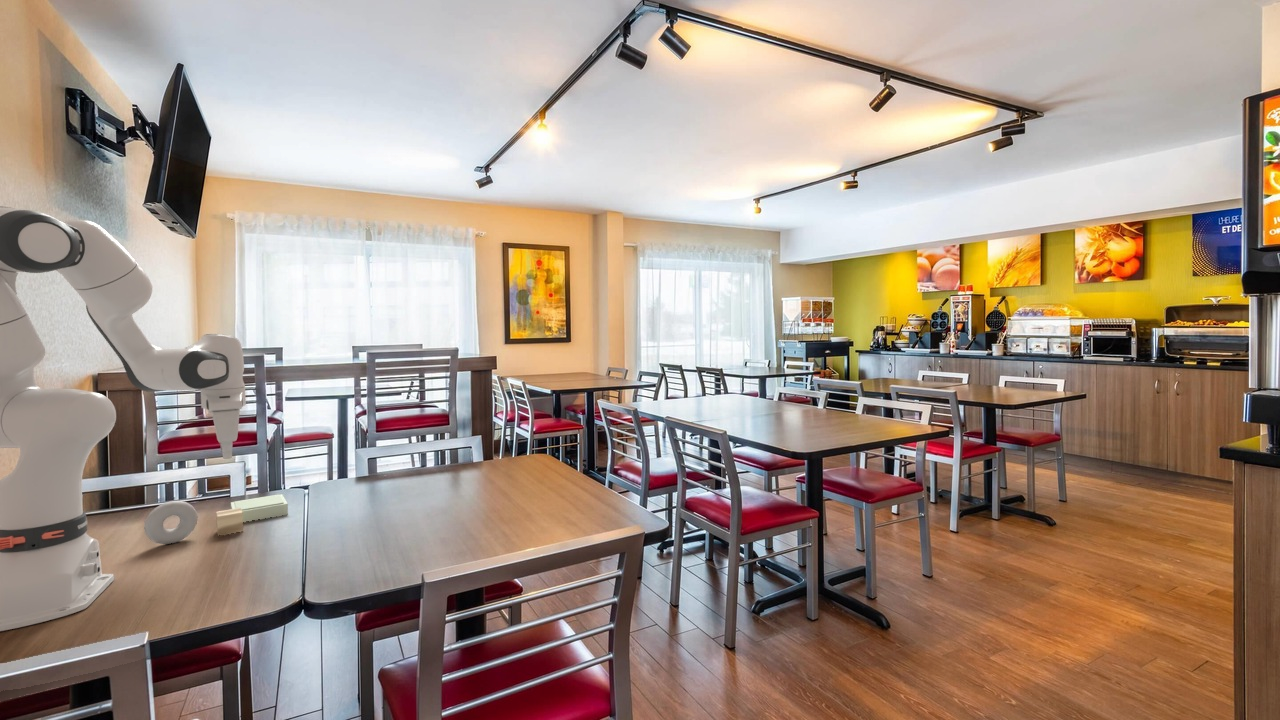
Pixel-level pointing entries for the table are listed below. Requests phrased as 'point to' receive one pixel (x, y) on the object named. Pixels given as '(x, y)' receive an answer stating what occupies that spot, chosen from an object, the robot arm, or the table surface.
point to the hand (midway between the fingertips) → (226, 455)
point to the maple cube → (229, 521)
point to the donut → (163, 511)
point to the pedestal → (262, 507)
